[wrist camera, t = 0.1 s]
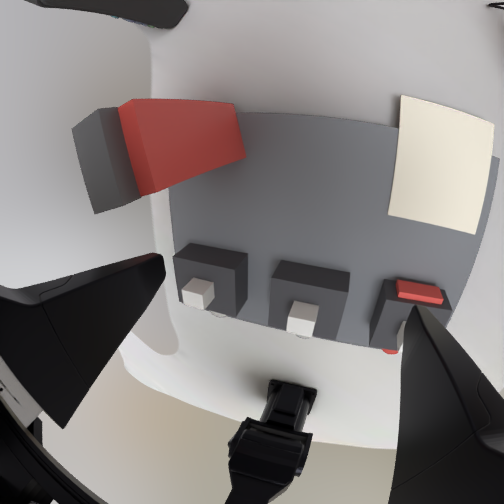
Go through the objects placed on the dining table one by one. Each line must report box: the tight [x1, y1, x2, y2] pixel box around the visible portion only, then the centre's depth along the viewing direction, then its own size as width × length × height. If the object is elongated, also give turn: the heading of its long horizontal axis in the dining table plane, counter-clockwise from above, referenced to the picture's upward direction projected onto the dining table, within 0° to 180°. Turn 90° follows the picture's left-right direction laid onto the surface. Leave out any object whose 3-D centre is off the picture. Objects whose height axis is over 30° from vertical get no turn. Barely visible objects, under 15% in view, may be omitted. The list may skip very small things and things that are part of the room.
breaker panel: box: [168, 95, 500, 354], centre depth 20 cm, size 22×28×6 cm
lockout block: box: [72, 99, 246, 214], centre depth 16 cm, size 5×4×12 cm
